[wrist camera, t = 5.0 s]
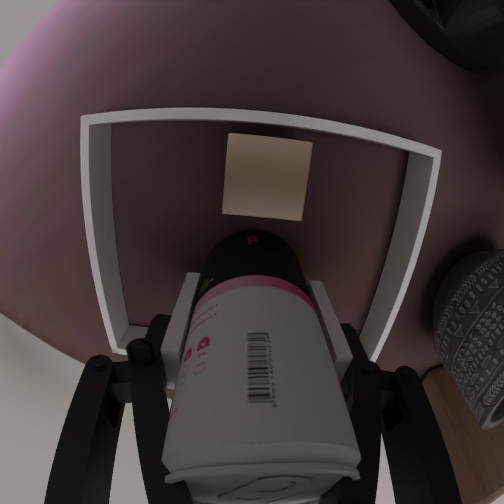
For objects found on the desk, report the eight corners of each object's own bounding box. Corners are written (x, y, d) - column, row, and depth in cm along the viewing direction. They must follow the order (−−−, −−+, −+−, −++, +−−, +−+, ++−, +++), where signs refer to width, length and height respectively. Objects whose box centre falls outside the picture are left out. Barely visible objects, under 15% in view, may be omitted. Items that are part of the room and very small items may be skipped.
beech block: (232, 132, 16) (228, 133, 12) (298, 140, 16) (312, 142, 12) (227, 195, 17) (222, 213, 14) (290, 201, 18) (301, 221, 14)
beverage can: (316, 256, 19) (406, 464, 6) (267, 322, 22) (285, 515, 8) (233, 211, 18) (203, 448, 4) (190, 287, 20) (137, 493, 6)
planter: (462, 342, 24) (513, 418, 13) (394, 333, 23) (453, 444, 11) (513, 252, 20) (587, 314, 8) (457, 215, 18) (570, 294, 6)
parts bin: (104, 115, 15) (81, 115, 12) (417, 145, 16) (441, 150, 13) (124, 329, 22) (112, 352, 19) (362, 342, 23) (373, 365, 20)
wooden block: (400, 413, 30) (440, 528, 12) (426, 368, 26) (490, 504, 7) (451, 395, 30) (497, 492, 12) (479, 350, 26) (545, 456, 7)
